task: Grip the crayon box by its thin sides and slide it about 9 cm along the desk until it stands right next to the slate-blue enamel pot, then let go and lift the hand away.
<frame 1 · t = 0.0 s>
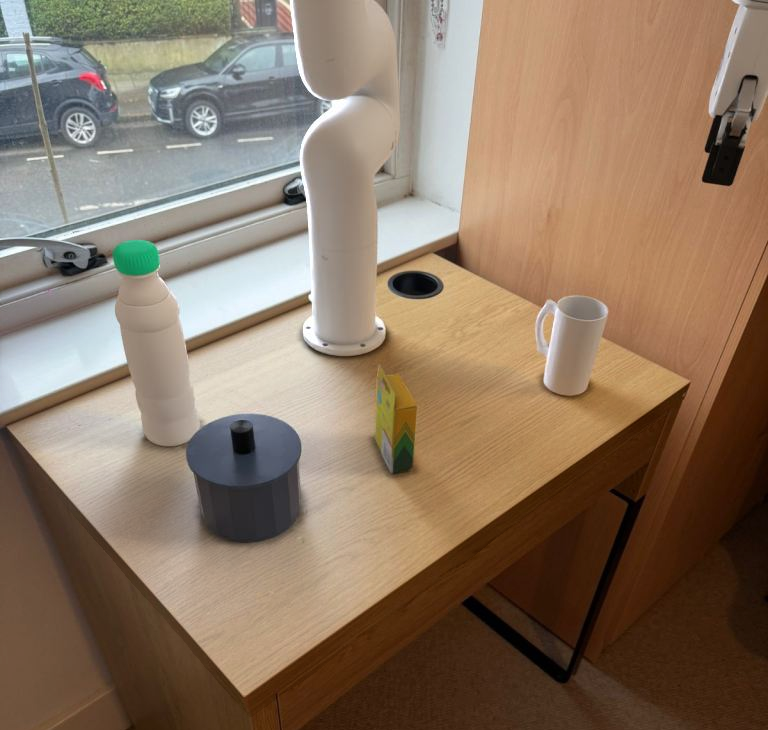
hand: (717, 167, 85), 31 cm above the table, tool pointing down, fingers open, 9 cm apart
water bottle: (173, 432, 99), on the table
pot: (251, 507, 89), on the table
crayon box: (393, 456, 97), on the table
mug: (555, 379, 110), on the table
pot lid: (244, 451, 83), point 8 cm above the table, touching pot
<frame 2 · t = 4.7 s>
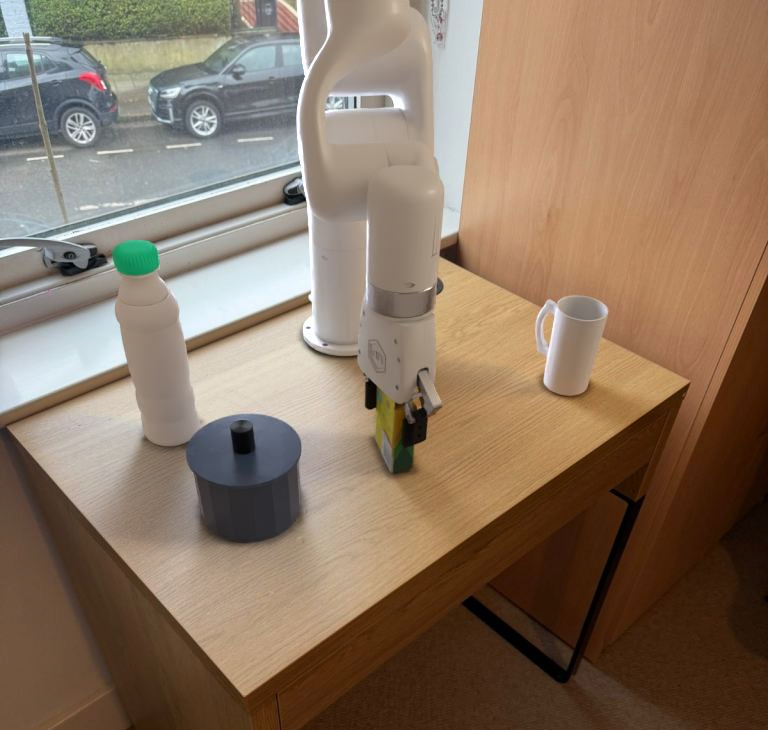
hand: (394, 423, 93), 5 cm above the table, tool pointing down, fingers closed on crayon box, 7 cm apart
crayon box: (393, 456, 97), on the table, touching gripper
everything else where it was.
when the fingers open (5 cm above the table, at t = 9.5 s): crayon box stays where it is, on the table.
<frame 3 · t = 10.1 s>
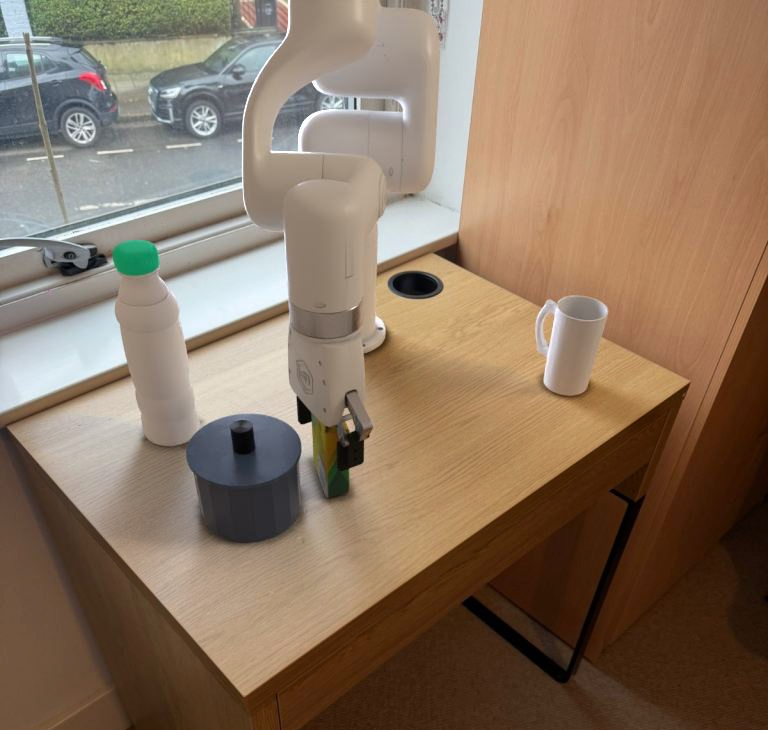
hand: (330, 442, 89), 5 cm above the table, tool pointing down, fingers open, 9 cm apart
crayon box: (331, 478, 93), on the table
everything else where it was.
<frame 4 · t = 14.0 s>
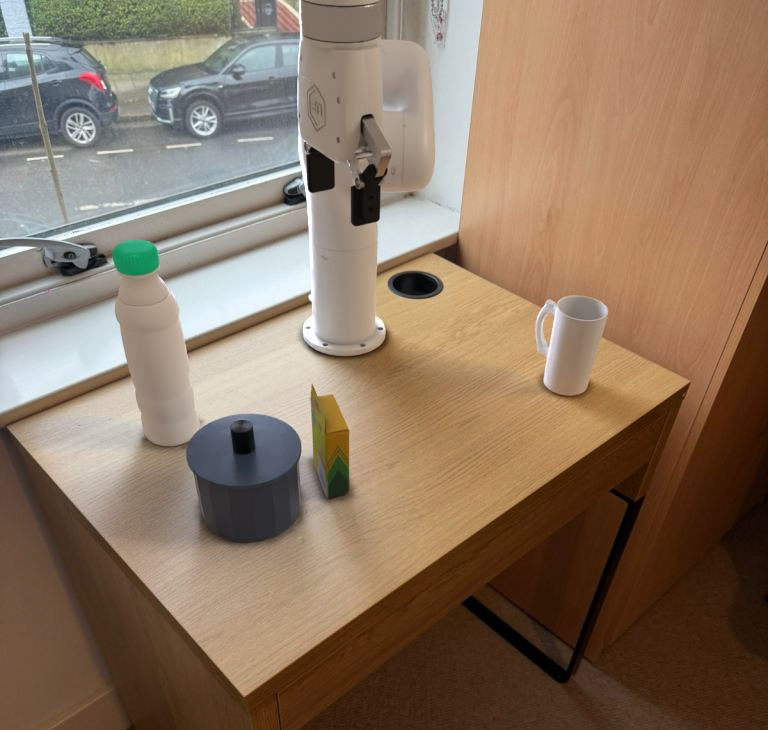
hand: (342, 206, 82), 28 cm above the table, tool pointing down, fingers open, 9 cm apart
nothing on the table moved.
at the end: crayon box 10.5 cm from the pot (horizontally); crayon box moved 9.0 cm from its start; crayon box tilted 0° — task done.
